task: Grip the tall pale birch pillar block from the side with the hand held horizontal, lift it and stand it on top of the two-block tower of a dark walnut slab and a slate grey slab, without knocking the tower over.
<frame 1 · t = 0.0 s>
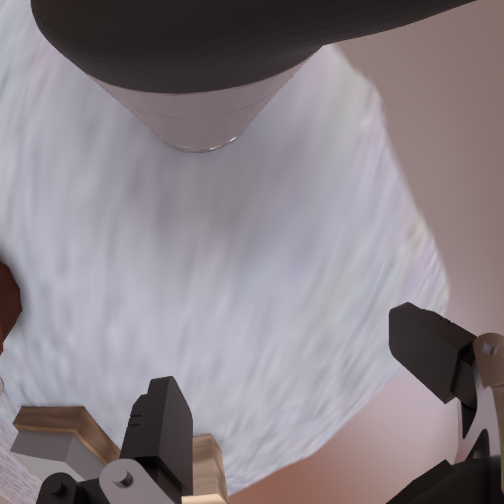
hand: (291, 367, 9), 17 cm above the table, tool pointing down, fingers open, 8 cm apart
birch pillar block: (199, 445, 32), on the table
slate top block: (68, 457, 25), point 4 cm above the table, touching walnut base block
walnut base block: (75, 434, 29), on the table, touching slate top block
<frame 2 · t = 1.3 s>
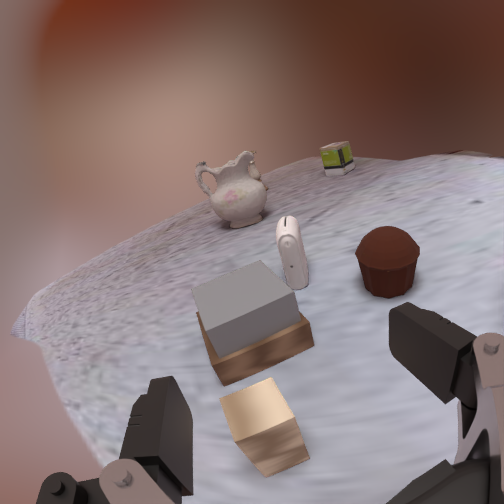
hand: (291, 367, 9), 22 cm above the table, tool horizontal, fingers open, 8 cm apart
birch pillar block: (279, 451, 24), on the table
candle holder: (259, 191, 138), on the table
ceramic pitcher: (242, 222, 99), on the table
photo printer: (298, 277, 56), on the table
tea box: (341, 172, 131), on the table
muffin: (389, 284, 45), on the table
slate top block: (246, 317, 41), point 5 cm above the table
walnut base block: (255, 341, 43), on the table
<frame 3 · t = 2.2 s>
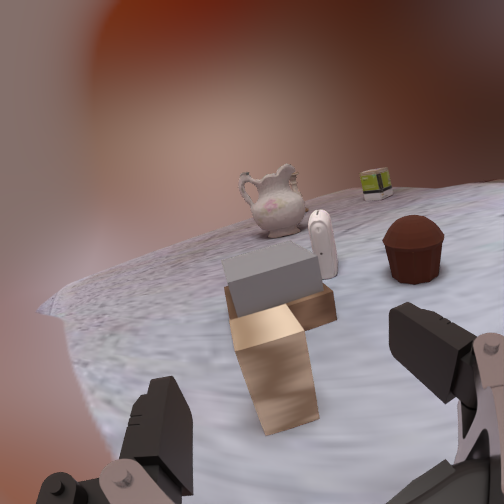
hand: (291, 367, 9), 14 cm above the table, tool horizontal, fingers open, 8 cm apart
birch pillar block: (286, 410, 23), on the table
candle holder: (300, 212, 141), on the table
ceramic pitcher: (280, 234, 102), on the table
photo printer: (328, 270, 56), on the table
tea box: (379, 198, 129), on the table
muffin: (415, 274, 43), on the table
slate top block: (271, 289, 42), point 4 cm above the table
walnut base block: (278, 317, 43), on the table
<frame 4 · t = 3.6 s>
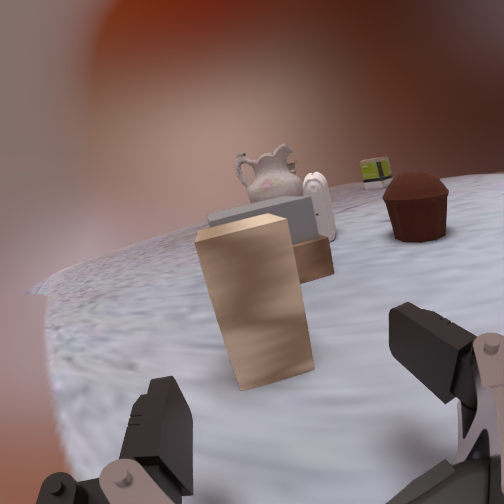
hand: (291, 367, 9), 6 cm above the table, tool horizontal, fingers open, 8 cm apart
birch pillar block: (270, 361, 19), on the table
candle holder: (299, 201, 138), on the table
ceramic pitcher: (277, 216, 98), on the table
photo printer: (325, 237, 52), on the table
tea box: (379, 187, 126), on the table
muffin: (420, 236, 38), on the table
slate top block: (260, 242, 38), point 4 cm above the table, touching walnut base block
walnut base block: (268, 276, 39), on the table, touching slate top block
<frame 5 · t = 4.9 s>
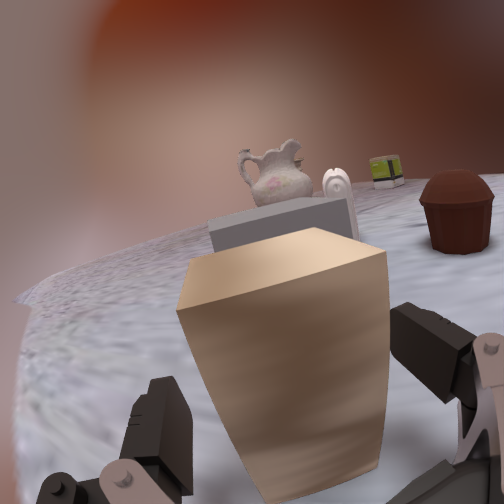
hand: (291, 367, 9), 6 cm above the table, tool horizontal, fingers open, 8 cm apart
birch pillar block: (308, 452, 11), on the table
candle holder: (305, 201, 129), on the table
ceramic pitcher: (284, 218, 89), on the table
photo printer: (347, 246, 43), on the table
tea box: (390, 187, 117), on the table
muffin: (460, 245, 30), on the table
slate top block: (276, 256, 29), point 4 cm above the table, touching walnut base block
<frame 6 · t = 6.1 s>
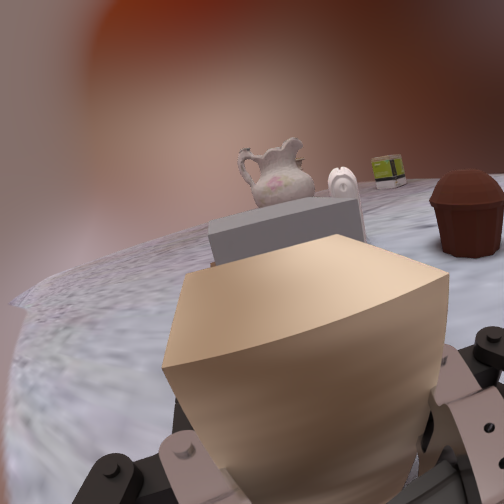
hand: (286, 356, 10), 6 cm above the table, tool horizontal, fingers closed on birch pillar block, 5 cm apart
birch pillar block: (322, 484, 8), on the table, touching gripper
candle holder: (306, 202, 127), on the table
ceramic pitcher: (285, 219, 87), on the table
photo printer: (353, 248, 41), on the table
tea box: (392, 187, 115), on the table
muffin: (470, 248, 28), on the table
slate top block: (281, 260, 27), point 4 cm above the table, touching walnut base block
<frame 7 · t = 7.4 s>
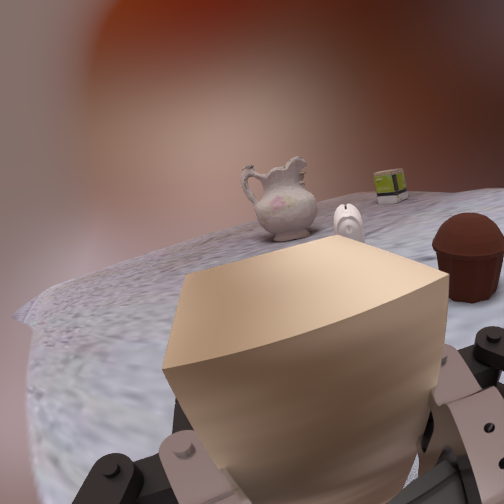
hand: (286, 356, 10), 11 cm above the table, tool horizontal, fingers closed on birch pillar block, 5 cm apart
birch pillar block: (322, 484, 8), point 5 cm above the table, touching gripper
candle holder: (307, 215, 128), on the table
ceramic pitcher: (288, 237, 88), on the table
photo printer: (355, 283, 42), on the table
tea box: (393, 201, 117), on the table
muffin: (468, 289, 29), on the table
when the fingers open (17 cm above the table, at t = 12.5 s): birch pillar block drops 2 cm, resting on slate top block.
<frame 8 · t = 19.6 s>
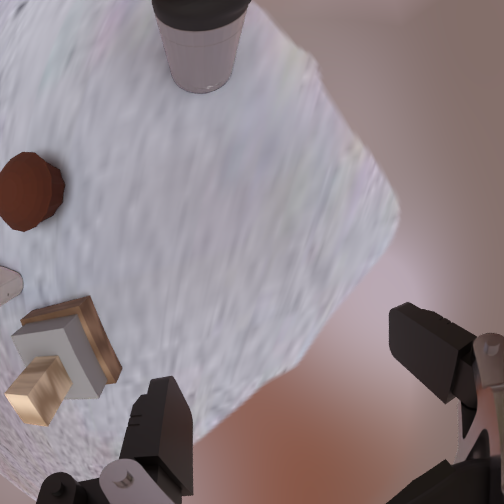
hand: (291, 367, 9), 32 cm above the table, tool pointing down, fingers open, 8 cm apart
birch pillar block: (53, 370, 30), point 10 cm above the table, touching slate top block
photo printer: (6, 276, 35), on the table
muffin: (44, 190, 34), on the table
slate top block: (64, 352, 35), point 5 cm above the table, touching birch pillar block, walnut base block
walnut base block: (75, 338, 40), on the table, touching slate top block
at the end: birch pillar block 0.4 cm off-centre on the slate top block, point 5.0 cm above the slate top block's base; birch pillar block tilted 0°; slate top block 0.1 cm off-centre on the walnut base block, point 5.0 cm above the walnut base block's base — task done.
